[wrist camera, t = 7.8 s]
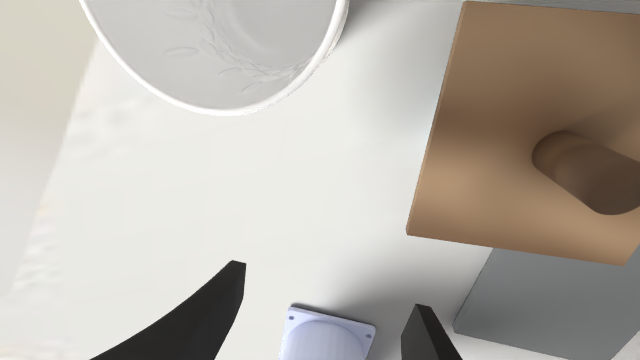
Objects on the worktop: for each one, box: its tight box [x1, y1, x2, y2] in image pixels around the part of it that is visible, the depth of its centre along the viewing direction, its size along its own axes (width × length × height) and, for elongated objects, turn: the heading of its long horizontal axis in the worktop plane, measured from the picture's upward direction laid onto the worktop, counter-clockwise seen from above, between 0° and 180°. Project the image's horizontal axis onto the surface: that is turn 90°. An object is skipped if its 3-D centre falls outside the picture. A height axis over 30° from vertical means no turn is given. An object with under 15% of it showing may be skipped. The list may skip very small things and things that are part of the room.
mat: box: [452, 243, 640, 360], centre depth 22 cm, size 12×12×1 cm
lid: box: [406, 1, 640, 266], centre depth 13 cm, size 12×12×5 cm
